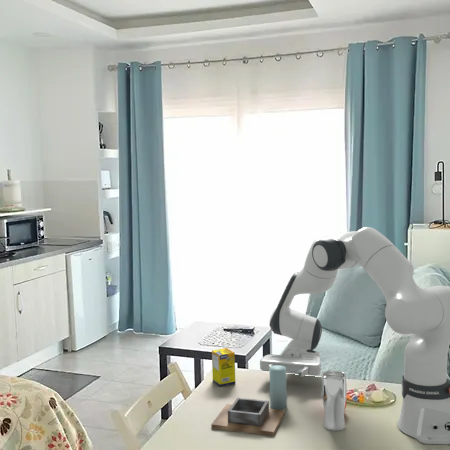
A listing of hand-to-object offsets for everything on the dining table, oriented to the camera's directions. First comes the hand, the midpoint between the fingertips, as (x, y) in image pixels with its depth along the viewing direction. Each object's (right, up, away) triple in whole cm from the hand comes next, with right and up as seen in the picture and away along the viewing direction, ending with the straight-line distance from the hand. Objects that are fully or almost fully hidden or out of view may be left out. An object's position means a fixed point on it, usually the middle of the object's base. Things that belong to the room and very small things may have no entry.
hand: (285, 373), depth 186 cm
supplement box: (-20, -6, +11) cm, 23 cm away
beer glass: (+11, -9, -23) cm, 27 cm away
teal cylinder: (-3, -8, -9) cm, 13 cm away
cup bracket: (-13, -9, -19) cm, 24 cm away
